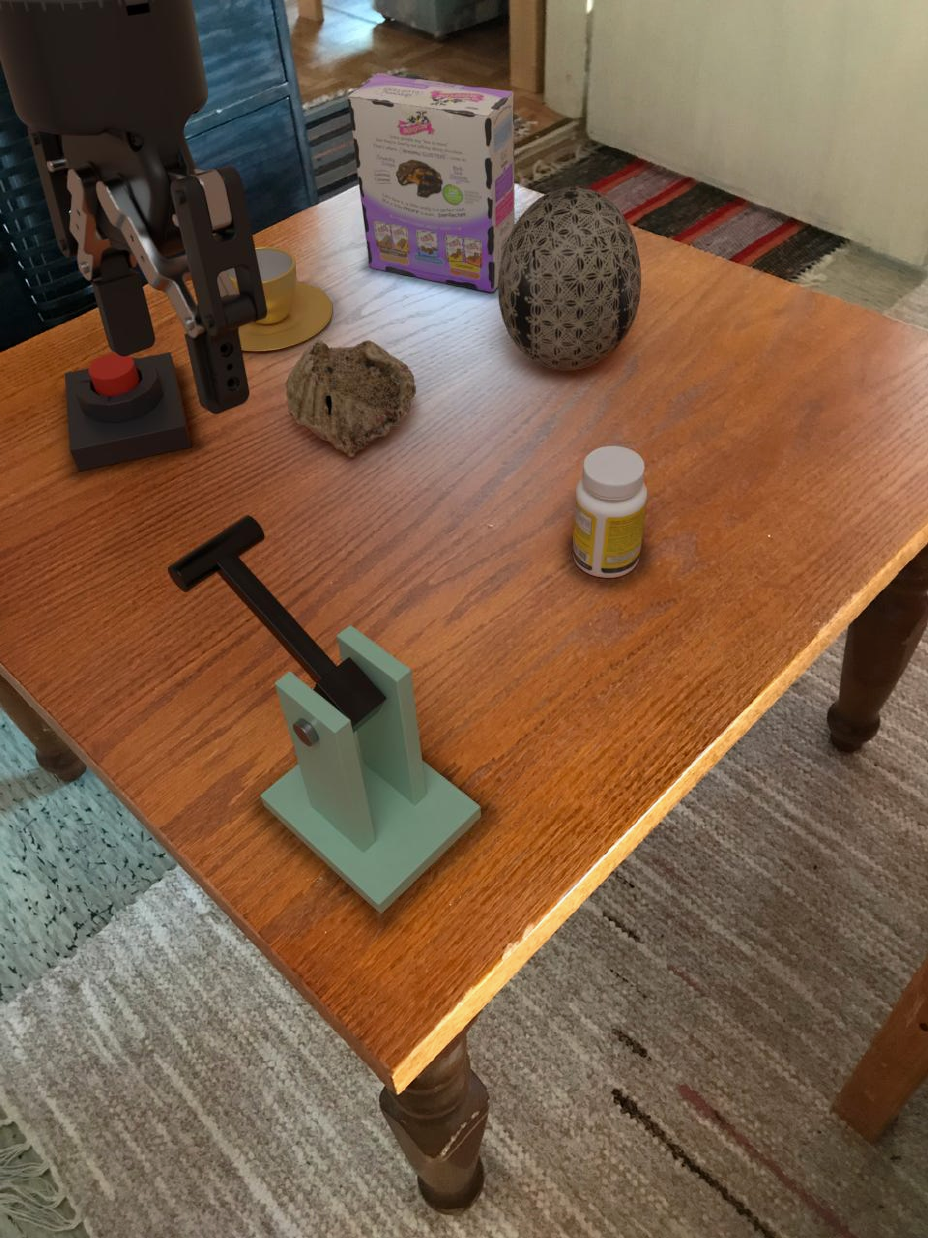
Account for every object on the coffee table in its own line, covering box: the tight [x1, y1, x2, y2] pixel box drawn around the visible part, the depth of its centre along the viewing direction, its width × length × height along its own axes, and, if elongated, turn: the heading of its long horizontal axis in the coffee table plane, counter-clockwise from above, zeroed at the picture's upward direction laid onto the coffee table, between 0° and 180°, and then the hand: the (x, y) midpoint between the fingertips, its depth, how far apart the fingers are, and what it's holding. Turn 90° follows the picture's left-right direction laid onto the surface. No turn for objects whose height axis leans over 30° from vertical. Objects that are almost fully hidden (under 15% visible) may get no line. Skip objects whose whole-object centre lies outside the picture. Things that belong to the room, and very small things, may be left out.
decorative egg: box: [497, 186, 642, 371], centre depth 80 cm, size 12×12×15 cm
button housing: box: [64, 351, 192, 472], centre depth 81 cm, size 11×9×4 cm
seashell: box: [285, 339, 417, 458], centre depth 79 cm, size 11×7×10 cm
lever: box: [167, 514, 387, 733], centre depth 49 cm, size 12×5×2 cm, turn 47°
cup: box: [226, 246, 334, 352], centre depth 90 cm, size 12×12×5 cm
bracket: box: [259, 624, 482, 915], centre depth 52 cm, size 10×8×13 cm
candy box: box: [347, 72, 516, 293], centre depth 91 cm, size 14×6×16 cm, turn 65°
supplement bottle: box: [572, 445, 648, 579], centre depth 67 cm, size 5×5×8 cm
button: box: [87, 352, 139, 396], centre depth 79 cm, size 4×4×2 cm
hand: (178, 376), depth 47 cm, fingers open, 8 cm apart
